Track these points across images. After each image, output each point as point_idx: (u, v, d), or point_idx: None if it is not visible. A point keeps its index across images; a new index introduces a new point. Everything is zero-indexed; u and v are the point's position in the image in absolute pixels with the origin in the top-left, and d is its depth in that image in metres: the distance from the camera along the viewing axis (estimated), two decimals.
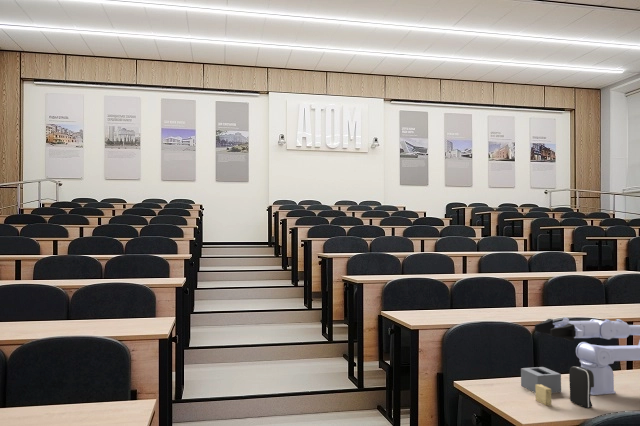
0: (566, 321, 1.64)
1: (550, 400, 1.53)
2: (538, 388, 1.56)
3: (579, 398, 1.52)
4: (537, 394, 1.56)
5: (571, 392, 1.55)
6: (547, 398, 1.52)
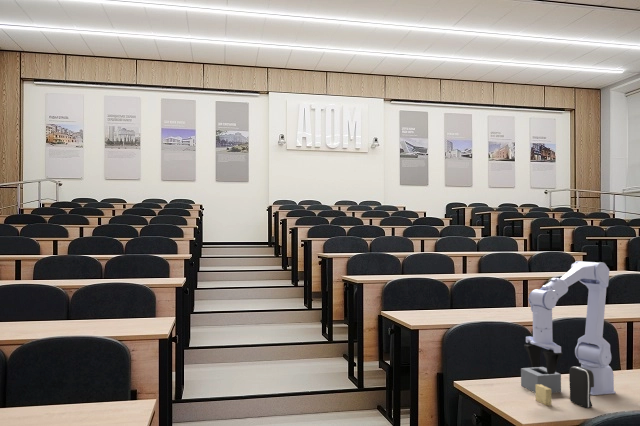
0: (536, 344, 1.54)
1: (550, 400, 1.53)
2: (538, 388, 1.56)
3: (579, 398, 1.52)
4: (537, 394, 1.56)
5: (571, 392, 1.55)
6: (547, 398, 1.52)
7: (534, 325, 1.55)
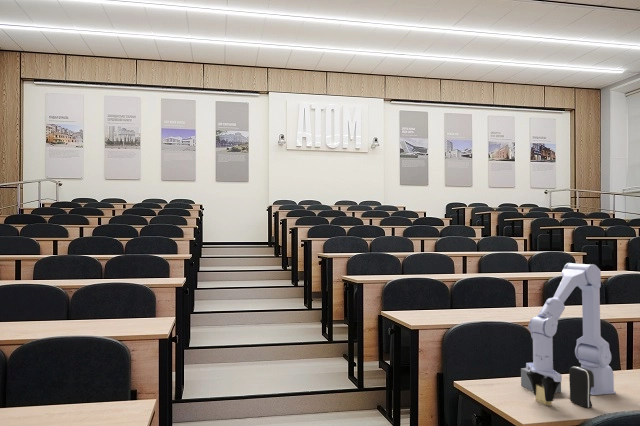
0: (536, 372, 1.54)
1: None
2: (538, 388, 1.56)
3: (579, 398, 1.52)
4: (537, 393, 1.56)
5: (571, 392, 1.55)
6: None
7: (534, 353, 1.55)
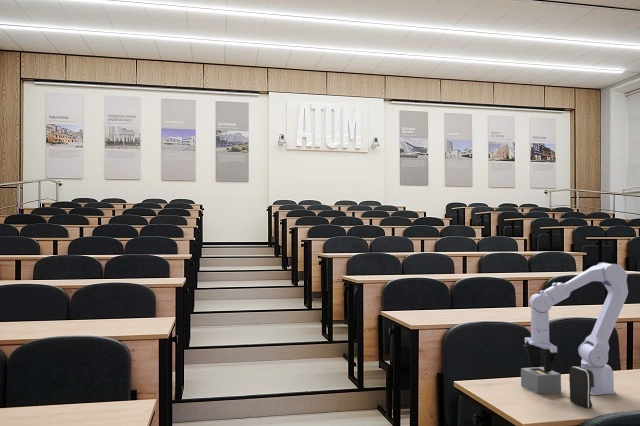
0: (534, 344, 1.67)
1: None
2: None
3: (579, 398, 1.52)
4: None
5: (571, 392, 1.55)
6: None
7: (531, 326, 1.70)
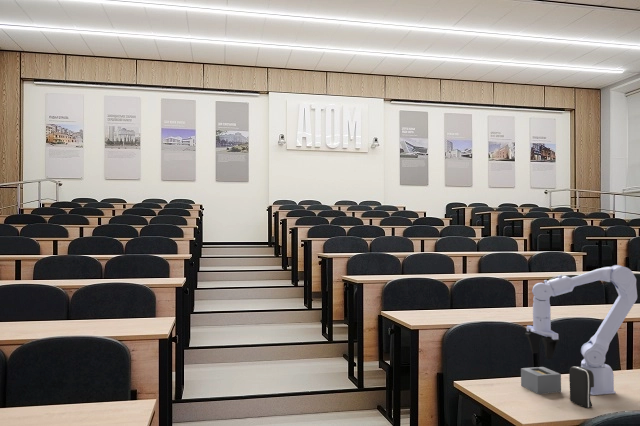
0: (536, 332, 1.71)
1: None
2: None
3: (579, 398, 1.52)
4: None
5: (571, 392, 1.55)
6: None
7: None
